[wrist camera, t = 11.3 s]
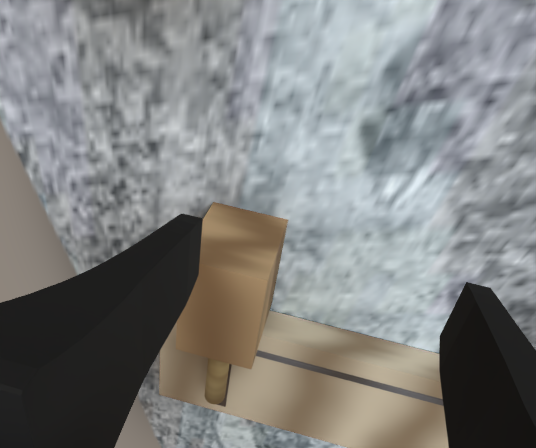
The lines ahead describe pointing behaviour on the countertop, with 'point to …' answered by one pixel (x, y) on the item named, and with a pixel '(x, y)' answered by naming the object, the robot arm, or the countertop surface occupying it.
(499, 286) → the countertop surface
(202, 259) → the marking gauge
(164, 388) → the maple board
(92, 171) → the countertop surface
